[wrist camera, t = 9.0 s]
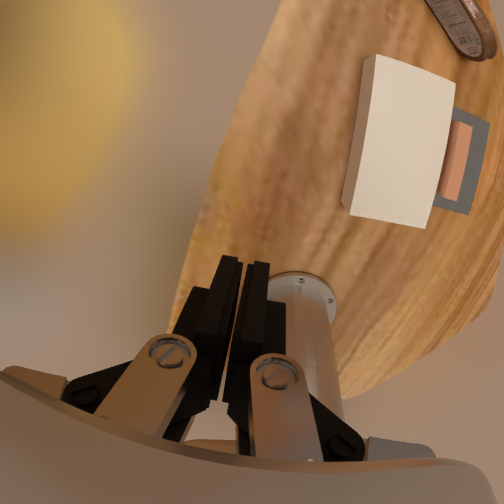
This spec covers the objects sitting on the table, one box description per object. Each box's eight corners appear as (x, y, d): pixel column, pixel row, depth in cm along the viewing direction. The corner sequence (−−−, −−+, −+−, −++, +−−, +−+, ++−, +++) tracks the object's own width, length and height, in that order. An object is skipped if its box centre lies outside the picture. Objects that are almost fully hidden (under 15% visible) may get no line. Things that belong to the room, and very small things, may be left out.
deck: (409, 214, 35) (424, 229, 31) (340, 200, 35) (349, 214, 31) (435, 84, 27) (455, 83, 22) (363, 60, 27) (376, 53, 23)
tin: (473, 59, 24) (510, 56, 16) (459, 65, 25) (497, 62, 17) (413, -33, 19) (440, -55, 11) (397, -29, 20) (422, -53, 12)
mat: (467, 214, 34) (468, 215, 34) (413, 200, 34) (414, 201, 34) (488, 123, 27) (489, 123, 27) (433, 98, 28) (434, 98, 27)
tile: (422, 183, 33) (434, 186, 33) (443, 197, 27) (456, 201, 27) (435, 117, 28) (447, 122, 28) (459, 121, 23) (472, 127, 23)
